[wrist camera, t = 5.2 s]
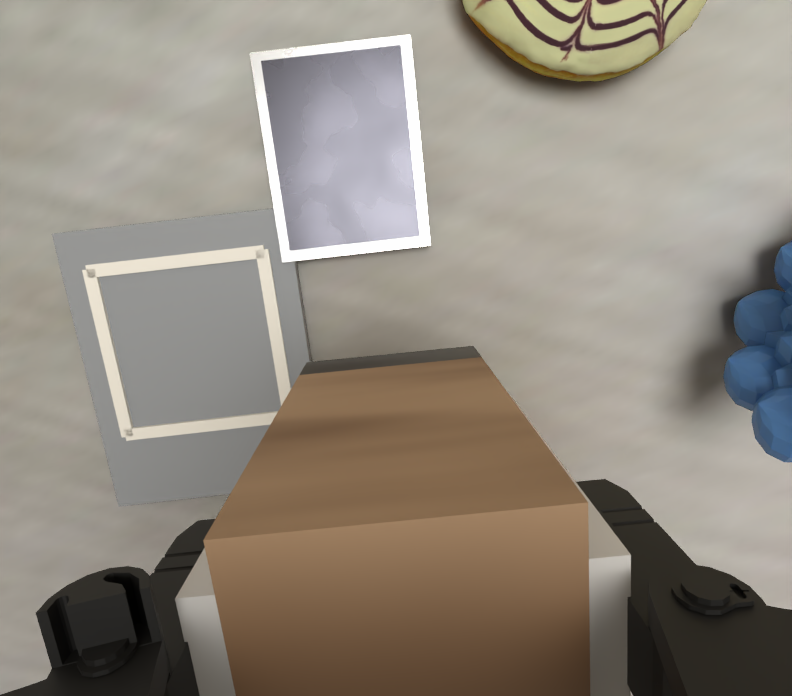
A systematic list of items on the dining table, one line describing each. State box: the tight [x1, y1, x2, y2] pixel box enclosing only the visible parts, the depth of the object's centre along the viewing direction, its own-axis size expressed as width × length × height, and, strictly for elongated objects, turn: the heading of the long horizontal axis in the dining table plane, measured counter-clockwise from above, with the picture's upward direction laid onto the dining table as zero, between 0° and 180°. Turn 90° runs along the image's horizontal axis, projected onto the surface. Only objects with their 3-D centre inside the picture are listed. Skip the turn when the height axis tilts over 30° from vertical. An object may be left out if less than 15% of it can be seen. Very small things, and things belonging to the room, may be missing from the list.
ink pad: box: [250, 34, 431, 263], centre depth 23 cm, size 9×7×1 cm
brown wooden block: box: [203, 346, 590, 696], centre depth 10 cm, size 4×4×8 cm
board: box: [52, 208, 312, 506], centre depth 25 cm, size 14×11×1 cm
